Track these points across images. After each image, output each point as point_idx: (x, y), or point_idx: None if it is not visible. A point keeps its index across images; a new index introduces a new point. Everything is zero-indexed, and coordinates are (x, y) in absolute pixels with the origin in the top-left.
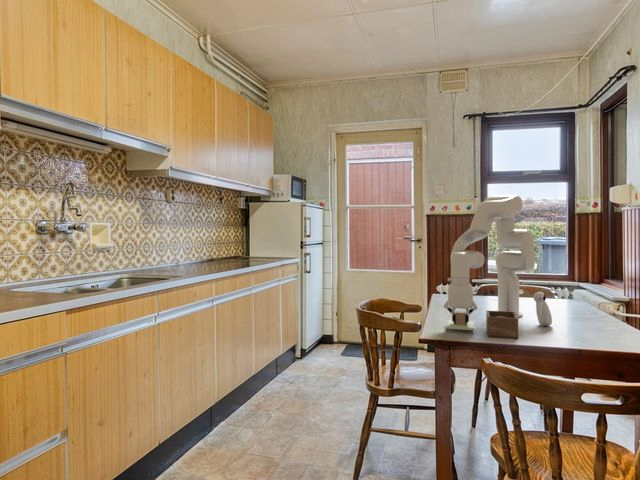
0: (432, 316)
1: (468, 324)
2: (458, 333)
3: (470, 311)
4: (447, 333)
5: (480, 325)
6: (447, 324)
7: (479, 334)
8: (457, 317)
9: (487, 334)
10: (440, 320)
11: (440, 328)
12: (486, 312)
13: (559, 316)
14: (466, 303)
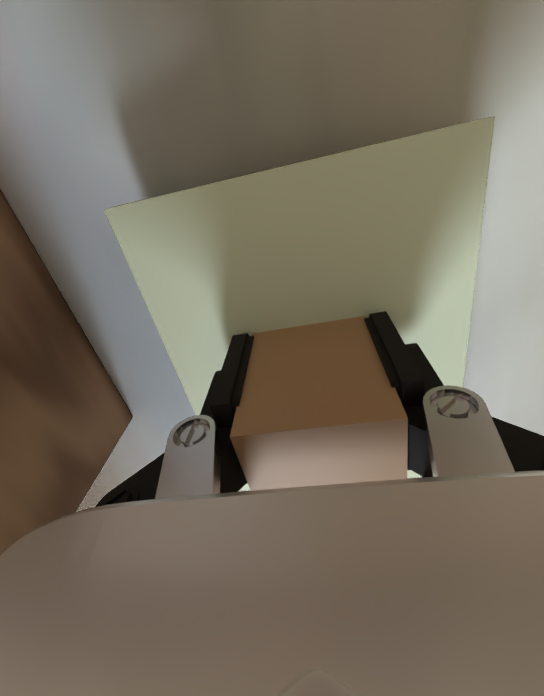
0: None
1: None
2: (300, 138)
3: (147, 487)
4: (441, 52)
5: None
6: (467, 273)
7: (90, 210)
8: (354, 368)
9: (10, 217)
10: None
11: (514, 294)
12: (12, 539)
13: None
14: (63, 687)
